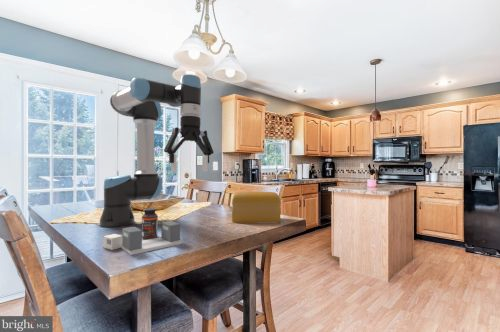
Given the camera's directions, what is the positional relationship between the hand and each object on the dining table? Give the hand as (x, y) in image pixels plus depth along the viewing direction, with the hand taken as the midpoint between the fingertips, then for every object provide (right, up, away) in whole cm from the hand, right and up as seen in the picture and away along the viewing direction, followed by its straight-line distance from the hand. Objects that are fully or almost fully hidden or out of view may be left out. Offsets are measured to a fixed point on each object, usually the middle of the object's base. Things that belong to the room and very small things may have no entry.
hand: (190, 171), depth 101 cm
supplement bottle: (-17, -26, +3) cm, 31 cm away
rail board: (-12, -26, -7) cm, 30 cm away
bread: (+26, -27, +36) cm, 52 cm away
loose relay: (-25, -26, -9) cm, 37 cm away
